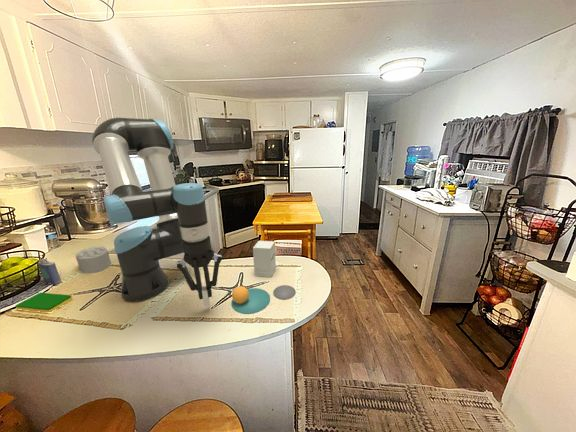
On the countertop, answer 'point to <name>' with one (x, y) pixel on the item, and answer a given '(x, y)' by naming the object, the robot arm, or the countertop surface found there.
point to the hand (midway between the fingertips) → (207, 305)
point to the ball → (240, 294)
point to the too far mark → (284, 292)
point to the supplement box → (264, 258)
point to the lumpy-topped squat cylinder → (93, 259)
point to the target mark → (253, 302)
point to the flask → (49, 271)
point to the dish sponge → (44, 302)
